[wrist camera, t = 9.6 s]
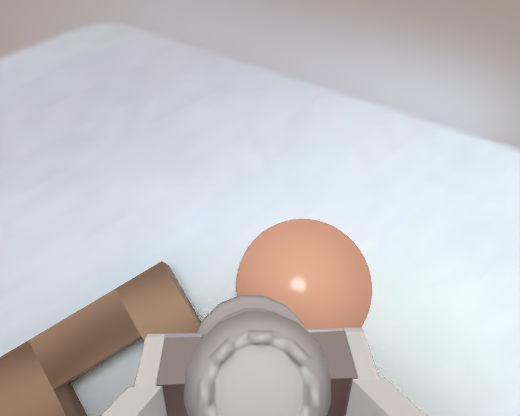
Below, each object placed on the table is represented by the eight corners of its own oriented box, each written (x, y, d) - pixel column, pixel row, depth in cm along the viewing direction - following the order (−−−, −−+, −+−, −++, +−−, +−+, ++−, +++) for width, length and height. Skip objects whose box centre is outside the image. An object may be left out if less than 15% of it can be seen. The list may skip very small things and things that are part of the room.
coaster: (211, 264, 29) (210, 263, 28) (320, 198, 31) (323, 195, 30) (282, 383, 28) (284, 386, 27) (394, 307, 29) (398, 308, 28)
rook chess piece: (297, 430, 16) (352, 548, 8) (178, 403, 16) (117, 495, 8) (319, 307, 17) (386, 306, 9) (208, 283, 17) (178, 261, 9)
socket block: (-1, 365, 27) (-24, 371, 25) (168, 265, 29) (161, 261, 26) (88, 549, 25) (72, 575, 23) (262, 428, 27) (264, 440, 25)
